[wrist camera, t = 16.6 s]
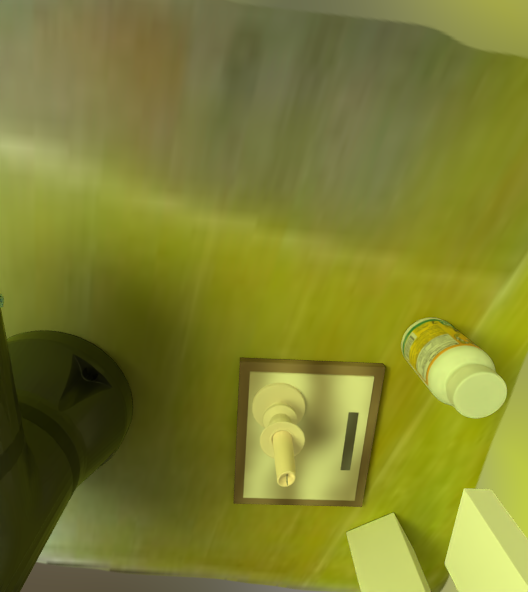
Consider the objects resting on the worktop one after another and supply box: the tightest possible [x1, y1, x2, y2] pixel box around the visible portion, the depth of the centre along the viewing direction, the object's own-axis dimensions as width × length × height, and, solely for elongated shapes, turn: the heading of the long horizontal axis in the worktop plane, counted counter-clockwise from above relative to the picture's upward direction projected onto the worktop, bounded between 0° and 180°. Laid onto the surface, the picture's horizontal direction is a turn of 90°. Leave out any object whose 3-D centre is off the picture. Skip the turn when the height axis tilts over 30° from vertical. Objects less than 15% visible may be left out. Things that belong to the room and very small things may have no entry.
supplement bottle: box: [401, 318, 507, 418], centre depth 35 cm, size 5×5×10 cm
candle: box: [252, 383, 305, 487], centre depth 35 cm, size 5×5×10 cm
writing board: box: [234, 358, 385, 507], centre depth 41 cm, size 14×17×1 cm
